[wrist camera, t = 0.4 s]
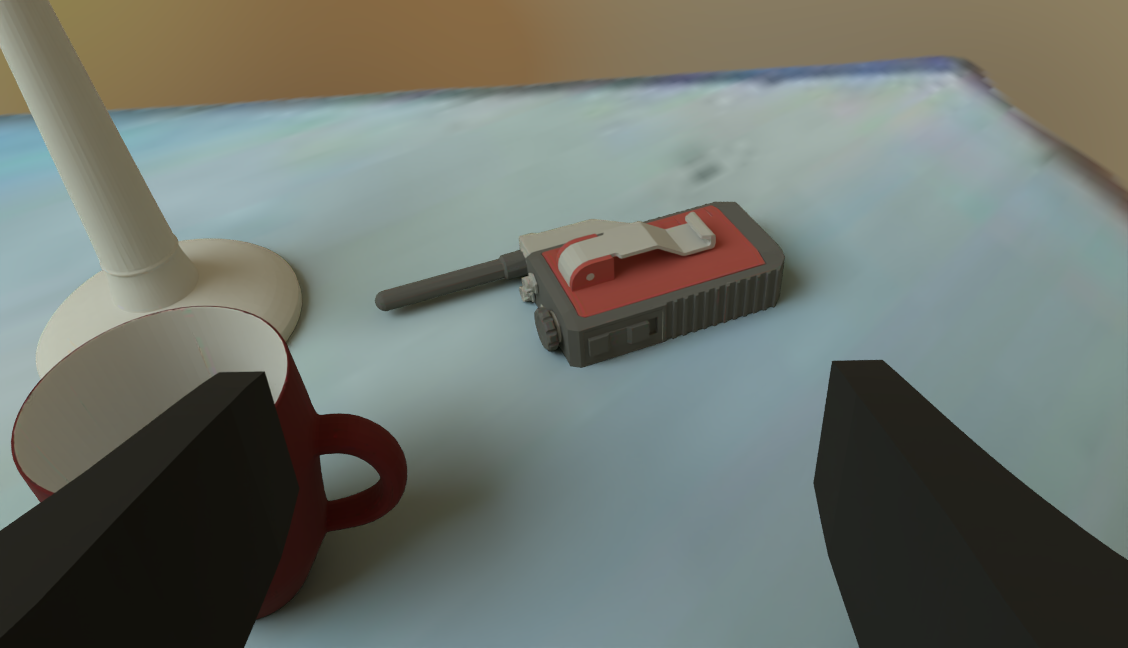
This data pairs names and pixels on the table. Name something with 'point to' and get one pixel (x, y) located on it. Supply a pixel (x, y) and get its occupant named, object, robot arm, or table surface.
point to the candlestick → (124, 207)
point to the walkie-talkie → (628, 279)
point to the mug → (165, 375)
